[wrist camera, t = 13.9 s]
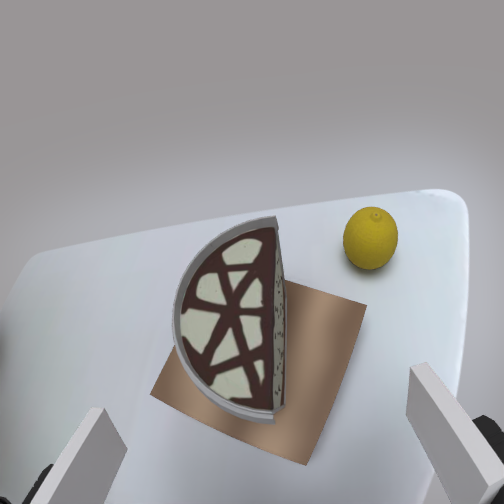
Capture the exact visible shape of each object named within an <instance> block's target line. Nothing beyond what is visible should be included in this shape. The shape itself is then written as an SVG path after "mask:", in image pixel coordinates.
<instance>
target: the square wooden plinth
mask: <svg viewBox="0 0 504 504" xmlns="http://www.w3.org/2000/svg"><path fill="white" fill-rule="evenodd" d="M285 286H286V294H287V360H286V407H285V408H283V409H282V410H280V411H278V412H276V413H275V414H273V417H274V420H275V425H272V424H262V423H256V422H252V421H248V420H245V419H241V418H239V417H237V416H234V415H232V414H230V413H228V412H226V411H224V410H222V409H221V408H219V407H218V406H217V405H215V404H214V403H212V402H211V401H210V400H209V399H208V398H207V397H206V396H204V395H203V394H202V393H201V392H200V391H199V390H198V388H197V387H196V386H195V384H194V383H193V381H192V380H191V379H190V377H189V376H188V374H187V372H186V371H185V369H184V367H183V365H182V363H181V361H180V359H179V356H178V354H177V351H176V347H175V345H174V347H173V349H172V351H171V353H170V355H169V357H168V359H167V361H166V363H165V365H164V367H163V369H162V371H161V373H160V375H159V377H158V379H157V381H156V383H155V385H154V387H153V389H152V391H151V393H150V395H152V396H153V397H155V398H157V399H159V400H160V401H162V402H164V403H166V404H168V405H169V406H171V407H173V408H175V409H177V410H179V411H180V412H182V413H184V414H186V415H188V416H190V417H192V418H194V419H196V420H198V421H200V422H202V423H204V424H206V425H208V426H210V427H212V428H214V429H216V430H218V431H220V432H223V433H225V434H227V435H229V436H231V437H234V438H236V439H238V440H240V441H243V442H245V443H247V444H250V445H252V446H255V447H257V448H259V449H262V450H264V451H267V452H270V453H272V454H275V455H277V456H280V457H283V458H285V459H288V460H291V461H294V462H297V463H299V464H302V465H305V466H306V465H307V463H308V461H309V459H310V457H311V454H312V452H313V450H314V448H315V446H316V443H317V441H318V439H319V437H320V434H321V432H322V430H323V427H324V425H325V423H326V420H327V418H328V415H329V413H330V410H331V408H332V405H333V403H334V400H335V398H336V395H337V393H338V390H339V387H340V385H341V382H342V379H343V377H344V374H345V371H346V368H347V366H348V363H349V360H350V357H351V354H352V351H353V348H354V345H355V342H356V339H357V336H358V333H359V330H360V327H361V323H362V320H363V317H364V314H365V310H366V307H367V305H365V304H361V303H358V302H355V301H351V300H348V299H345V298H342V297H338V296H335V295H332V294H329V293H325V292H322V291H319V290H316V289H313V288H309V287H306V286H303V285H300V284H297V283H293V282H290V281H287V280H285Z"/></svg>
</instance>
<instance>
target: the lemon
mask: <svg viewBox="0 0 504 504" xmlns="http://www.w3.org/2000/svg"><path fill="white" fill-rule="evenodd" d="M397 242H398V230H397V226H396V223H395V221H394V219H393V218H392V216H391V215H390V214H389V213H388V212H386V211H385V210H383V209H380V208H377V207H366V208H363V209H361V210H358V211H357V212H356V213H355V214H354V215H353V216H352V217H351V218H350V220H349V221H348V223H347V225H346V228H345V231H344V235H343V246H344V250H345V253H346V255H347V257H348V258H349V260H350V261H351V262H352V263H353V264H354V265H356V266H358V267H360V268H362V269H368V270H371V269H376V268H379V267H382V266H383V265H384V264H386V263H387V262H388V261H389V260H390V258H391V257H392V256H393V254H394V252H395V249H396V247H397Z"/></svg>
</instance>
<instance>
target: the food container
mask: <svg viewBox="0 0 504 504" xmlns="http://www.w3.org/2000/svg"><path fill="white" fill-rule="evenodd" d="M278 230H279V227H278V223H277V219H276V216H267V217H261V218H257V219H253V220H249V221H246V222H243V223H241V224H238V225H236V226H233V227H232V228H230V229H228V230H226V231H224V232H222V233H221V234H219V235H218V236H217V237H215V238H214V239H212V240H211V241H210V242H209V243H208V244H206V245H205V246H204V247H203V248H202V249H201V250H200V251H199V252H198V253H197V255H196V256H195V257H194V259H193V260H192V261H191V262H190V264H189V265H188V267H187V269H186V270H185V272H184V274H183V276H182V278H181V280H180V283H179V285H178V288H177V291H176V295H175V299H174V304H173V314H172V331H173V340H174V343H175V347H176V351H177V354H178V356H179V359H180V361H181V363H182V365H183V367H184V369H185V371H186V372H187V374H188V376H189V377H190V379H191V380H192V381H193V383H194V384H195V386H196V387H197V388H198V390H199V391H200V392H201V393H202V394H203V395H204V396H206V397H207V398H208V399H209V400H210V401H211V402H212V403H214V404H215V405H217V406H218V407H219V408H221V409H222V410H224V411H226V412H228V413H230V414H232V415H234V416H237V417H239V418H241V419H245V420H248V421H252V422H256V423H262V424H272V425H275V420H274V417H273V414H275V413H276V412H278V411H280V410H282V409H283V408H285V407H286V360H287V294H286V286H285V279H284V271H283V264H282V257H281V249H280V242H279V235H278Z"/></svg>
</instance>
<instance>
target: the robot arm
mask: <svg viewBox="0 0 504 504" xmlns="http://www.w3.org/2000/svg"><path fill="white" fill-rule="evenodd" d="M406 416H407V418H408V420H409V422H410V423H411V425H412V427H413V429H414V431H415V433H416V435H417V436H418V438H419V440H420V442H421V444H422V446H423V448H424V450H425V452H426V454H427V456H428V457H429V459H430V461H431V463H432V465H433V467H434V469H435V471H436V473H437V475H438V477H439V479H440V481H441V483H442V485H443V487H444V489H445V491H446V493H447V495H448V497H449V500H450V502H451V504H504V432H502V431H501V429H500V427H499V426H498V425H497V424H496V423H495V421H494V420H492V419H490V418H488V417H487V416H484V415H482V416H480V417H478V418H476V419H474V420H471V419H470V417H469V416H468V415H467V413H466V412H465V411H464V409H463V408H462V407H461V405H460V404H459V403H458V402H457V400H456V399H455V398H454V396H453V395H452V394H451V392H450V391H449V390H448V388H447V387H446V386H445V385H444V383H443V382H442V381H441V380H440V378H439V377H438V376H437V375H436V373H435V372H434V371H433V370H432V368H431V367H430V366H429V365H428V363H427V362H425V363H422V364H418V365H415V366H412V367H410V376H409V389H408V400H407V409H406ZM126 452H127V447H126V446H125V444H124V442H123V440H122V439H121V437H120V435H119V434H118V432H117V430H116V428H115V427H114V425H113V423H112V421H111V419H110V417H109V416H108V414H107V412H106V410H105V408H93V407H91V409H90V410H89V412H88V413H87V415H86V416H85V418H84V419H83V421H82V422H81V424H80V425H79V427H78V428H77V430H76V431H75V433H74V434H73V436H72V437H71V439H70V440H69V442H68V444H67V445H66V447H65V448H64V450H63V451H62V453H61V454H60V456H59V458H58V459H57V461H56V462H55V464H50V465H49V466H48V467H47V468H45V469H44V470H43V471H42V473H41V474H40V476H39V478H38V481H36V482H35V484H34V487H32V489H31V490H30V492H29V493H28V495H27V497H26V498H25V500H24V501H23V503H22V504H104V502H105V499H106V497H107V495H108V492H109V490H110V488H111V485H112V483H113V481H114V479H115V476H116V474H117V472H118V470H119V467H120V465H121V463H122V461H123V458H124V456H125V454H126ZM0 504H11V503H10V502H9V501H8V500H7V499H6V498H4V497H0Z"/></svg>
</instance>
